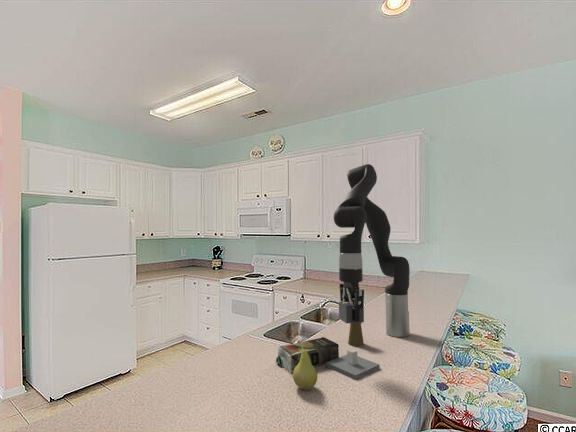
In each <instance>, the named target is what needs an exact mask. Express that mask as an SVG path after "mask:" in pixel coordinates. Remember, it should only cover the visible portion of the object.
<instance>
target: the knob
mask: <svg viewBox="0 0 576 432" xmlns="http://www.w3.org/2000/svg"><path fill="white" fill-rule="evenodd" d="M354 305H355V302H354ZM364 310H365V307H364V305H363V309H360V310H359V314H360V320H359V321H358V322H354V321H352V305H351V303H350V302H349V301H346V302H344V301H343V302H342V301H339V302H338V319H339V320H340V321H342V322H344V323H345V324H350V323H360V322H362V323H365V315H364V314H365V311H364Z"/></svg>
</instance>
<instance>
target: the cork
mask: <svg viewBox="0 0 576 432" xmlns="http://www.w3.org/2000/svg"><path fill="white" fill-rule="evenodd" d="M362 323H363V322H360V323H349V324H350V325H349V334H348V341H347V344H348V345H349V346H352V347H363V346H364V345H365V344H364V343H365V342H364V336H363V329H362Z"/></svg>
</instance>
